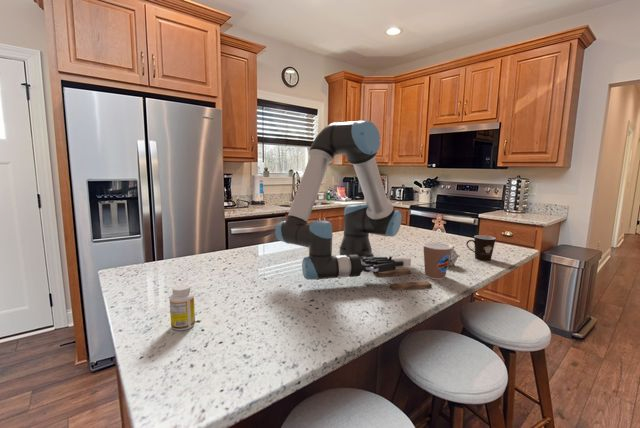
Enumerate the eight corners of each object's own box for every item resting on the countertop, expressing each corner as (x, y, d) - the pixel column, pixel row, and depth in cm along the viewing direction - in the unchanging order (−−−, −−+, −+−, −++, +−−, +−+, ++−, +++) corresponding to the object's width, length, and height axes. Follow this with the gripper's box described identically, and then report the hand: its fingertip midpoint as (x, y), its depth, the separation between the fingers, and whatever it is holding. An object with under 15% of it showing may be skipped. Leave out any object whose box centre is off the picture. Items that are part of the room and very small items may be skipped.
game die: (448, 272, 137) (460, 253, 138) (454, 271, 128) (467, 251, 130) (429, 260, 138) (441, 241, 140) (434, 259, 130) (447, 238, 132)
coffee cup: (439, 283, 114) (442, 250, 112) (415, 275, 122) (417, 244, 120) (455, 277, 120) (457, 246, 118) (430, 270, 128) (432, 240, 126)
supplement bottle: (188, 318, 84) (186, 281, 83) (199, 325, 81) (197, 286, 79) (167, 326, 80) (164, 287, 79) (177, 334, 77) (175, 293, 75)
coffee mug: (493, 257, 147) (495, 236, 146) (494, 262, 140) (496, 240, 138) (465, 254, 152) (467, 233, 151) (465, 259, 144) (466, 237, 143)
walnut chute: (393, 290, 106) (393, 287, 106) (373, 273, 122) (373, 270, 122) (431, 287, 109) (431, 284, 109) (406, 271, 126) (406, 268, 126)
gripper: (341, 270, 116) (400, 266, 122) (354, 283, 104) (418, 278, 110) (341, 250, 115) (401, 247, 121) (354, 260, 103) (420, 256, 109)
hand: (409, 262), depth 116 cm, fingers closed
